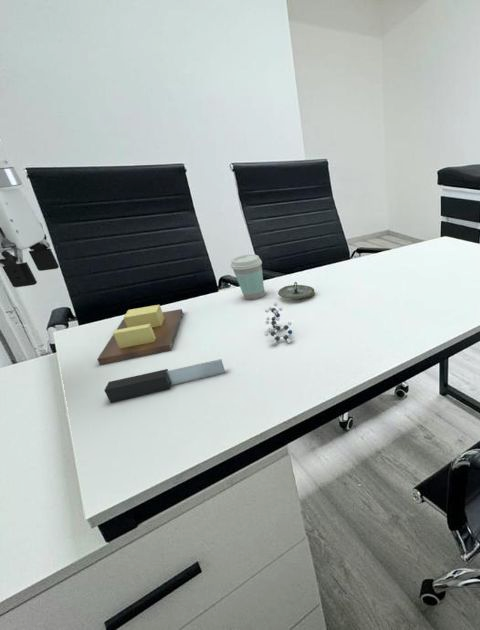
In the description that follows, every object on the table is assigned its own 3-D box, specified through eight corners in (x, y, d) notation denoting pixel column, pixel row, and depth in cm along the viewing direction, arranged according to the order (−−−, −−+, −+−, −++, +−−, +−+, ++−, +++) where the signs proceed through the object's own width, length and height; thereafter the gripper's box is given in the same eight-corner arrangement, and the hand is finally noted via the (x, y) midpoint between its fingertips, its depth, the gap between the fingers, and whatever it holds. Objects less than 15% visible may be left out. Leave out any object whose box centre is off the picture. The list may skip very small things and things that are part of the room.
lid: (278, 299, 119) (271, 286, 116) (306, 284, 122) (300, 270, 119) (291, 311, 111) (283, 298, 108) (320, 294, 115) (314, 281, 112)
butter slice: (119, 348, 89) (112, 333, 87) (121, 344, 90) (115, 329, 89) (154, 341, 91) (148, 327, 89) (156, 338, 93) (150, 323, 91)
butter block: (129, 331, 96) (123, 317, 95) (134, 323, 101) (128, 309, 99) (161, 325, 99) (155, 311, 97) (164, 318, 103) (159, 304, 101)
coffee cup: (265, 288, 123) (257, 252, 118) (272, 296, 117) (263, 258, 112) (237, 295, 119) (227, 257, 114) (242, 304, 113) (232, 265, 108)
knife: (110, 403, 73) (103, 389, 72) (114, 394, 76) (108, 380, 74) (225, 376, 80) (220, 363, 78) (225, 368, 82) (221, 355, 81)
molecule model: (267, 356, 90) (275, 331, 86) (255, 322, 97) (261, 297, 93) (294, 354, 94) (302, 330, 90) (280, 321, 101) (287, 297, 97)
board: (99, 364, 86) (97, 359, 85) (125, 324, 104) (123, 319, 103) (171, 350, 90) (169, 344, 90) (183, 313, 109) (181, 308, 108)
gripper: (-12, 178, 71) (34, 267, 78) (-77, 189, 56) (-14, 297, 64) (39, 174, 73) (78, 261, 81) (-11, 184, 59) (43, 289, 66)
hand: (38, 277), depth 72 cm, fingers open, 9 cm apart
